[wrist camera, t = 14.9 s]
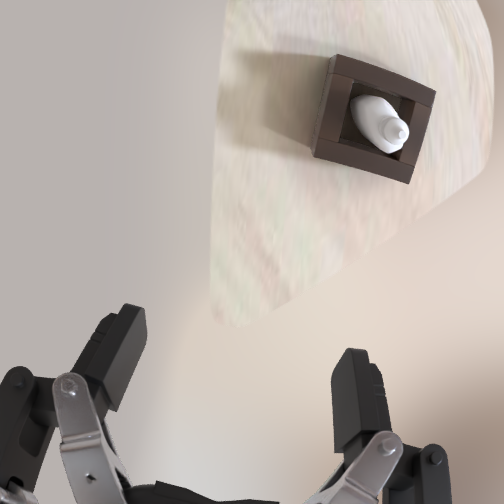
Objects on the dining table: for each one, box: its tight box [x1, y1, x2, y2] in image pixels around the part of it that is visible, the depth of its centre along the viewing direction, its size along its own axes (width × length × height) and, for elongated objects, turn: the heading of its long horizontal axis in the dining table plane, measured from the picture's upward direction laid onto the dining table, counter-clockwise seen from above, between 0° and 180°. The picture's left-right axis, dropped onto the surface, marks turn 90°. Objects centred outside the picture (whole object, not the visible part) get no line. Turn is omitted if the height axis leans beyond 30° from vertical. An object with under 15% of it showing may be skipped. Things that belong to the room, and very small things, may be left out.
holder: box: [310, 54, 436, 184], centre depth 29 cm, size 12×12×4 cm
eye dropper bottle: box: [350, 95, 409, 153], centre depth 26 cm, size 4×6×12 cm
